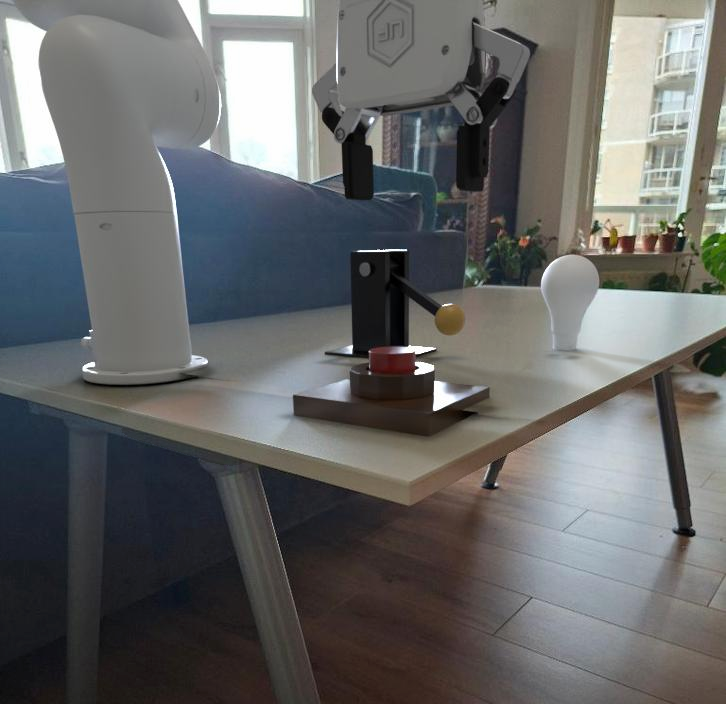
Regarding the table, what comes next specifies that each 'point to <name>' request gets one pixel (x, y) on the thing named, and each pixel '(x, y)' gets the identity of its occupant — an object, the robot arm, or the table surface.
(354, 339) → the switch bracket
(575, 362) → the table surface
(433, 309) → the switch lever
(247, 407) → the table surface
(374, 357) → the lamp button
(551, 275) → the lightbulb
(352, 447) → the table surface
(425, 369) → the button base
